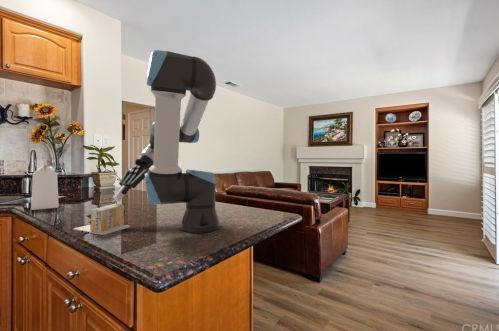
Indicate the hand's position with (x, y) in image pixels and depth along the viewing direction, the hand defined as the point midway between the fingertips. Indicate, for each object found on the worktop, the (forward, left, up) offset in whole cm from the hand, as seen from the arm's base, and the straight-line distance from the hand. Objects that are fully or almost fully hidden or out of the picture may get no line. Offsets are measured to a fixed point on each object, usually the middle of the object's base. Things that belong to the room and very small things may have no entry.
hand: (116, 199), depth 104 cm
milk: (+68, -11, -11) cm, 70 cm away
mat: (0, +6, -11) cm, 12 cm away
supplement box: (-1, -1, -6) cm, 6 cm away
